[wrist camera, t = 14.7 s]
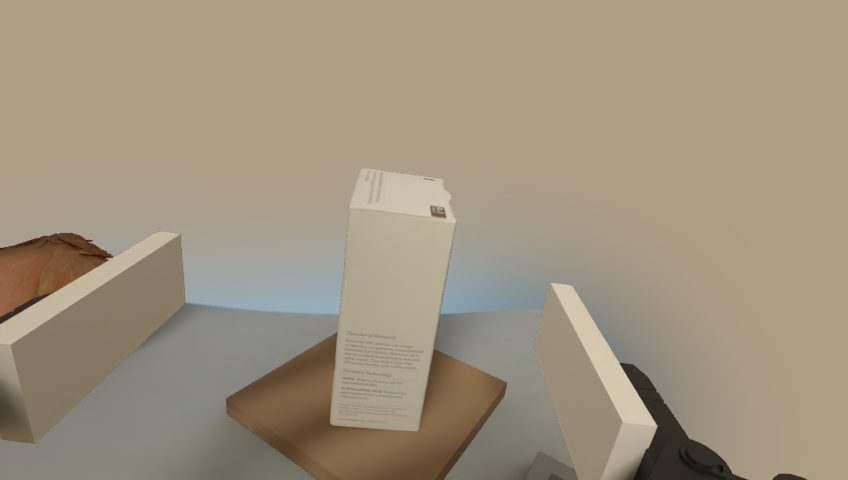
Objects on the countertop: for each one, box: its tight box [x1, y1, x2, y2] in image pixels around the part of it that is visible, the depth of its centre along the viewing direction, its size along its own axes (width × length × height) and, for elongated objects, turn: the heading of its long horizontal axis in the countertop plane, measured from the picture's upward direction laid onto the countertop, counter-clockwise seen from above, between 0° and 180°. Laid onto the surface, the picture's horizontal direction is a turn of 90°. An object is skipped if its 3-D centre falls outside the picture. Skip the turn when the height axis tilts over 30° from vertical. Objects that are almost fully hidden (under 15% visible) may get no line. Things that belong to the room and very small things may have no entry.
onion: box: [0, 233, 113, 317], centre depth 31 cm, size 10×9×10 cm
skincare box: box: [330, 169, 457, 431], centre depth 29 cm, size 8×6×15 cm
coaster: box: [226, 333, 507, 480], centre depth 32 cm, size 14×14×1 cm
